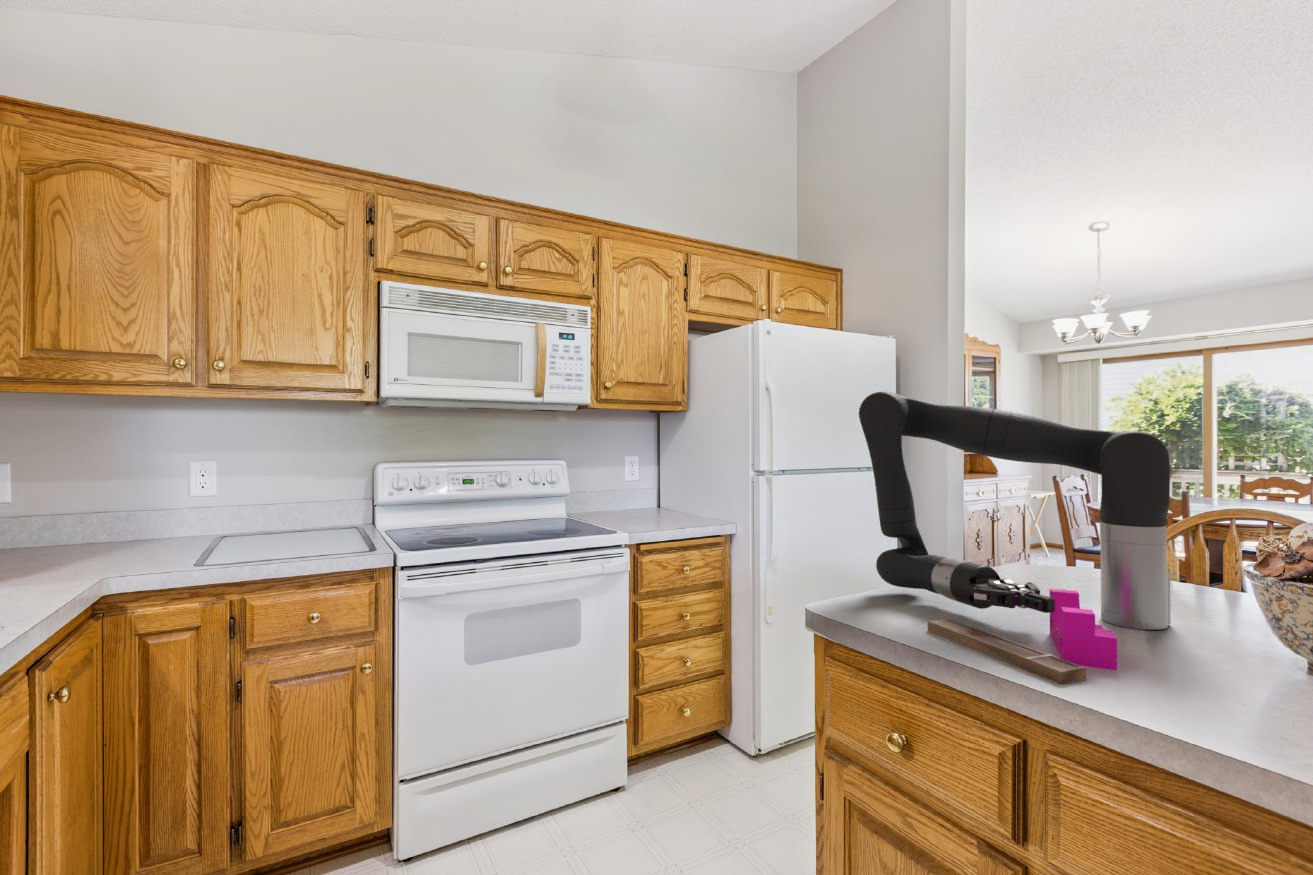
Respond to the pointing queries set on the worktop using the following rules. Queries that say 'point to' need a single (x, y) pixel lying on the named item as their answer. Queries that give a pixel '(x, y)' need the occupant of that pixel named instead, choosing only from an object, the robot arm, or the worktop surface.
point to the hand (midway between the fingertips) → (1051, 606)
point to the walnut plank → (1009, 651)
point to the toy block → (1080, 633)
